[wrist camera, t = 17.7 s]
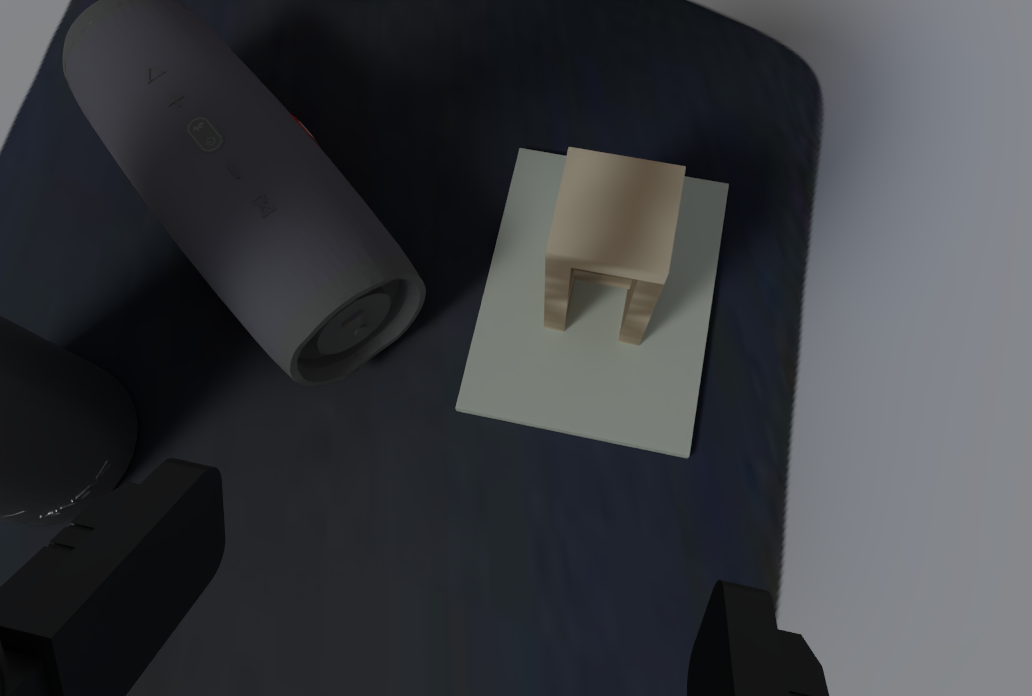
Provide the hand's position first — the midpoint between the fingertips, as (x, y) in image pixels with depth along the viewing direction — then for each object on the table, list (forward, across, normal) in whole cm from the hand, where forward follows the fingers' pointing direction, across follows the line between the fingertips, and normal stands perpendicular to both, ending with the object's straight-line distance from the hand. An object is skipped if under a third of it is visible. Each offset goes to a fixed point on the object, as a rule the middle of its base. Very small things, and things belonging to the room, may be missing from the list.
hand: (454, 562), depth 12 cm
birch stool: (+32, -2, +8) cm, 33 cm away
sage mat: (+32, -2, +8) cm, 33 cm away
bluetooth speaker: (+33, +19, +8) cm, 39 cm away
